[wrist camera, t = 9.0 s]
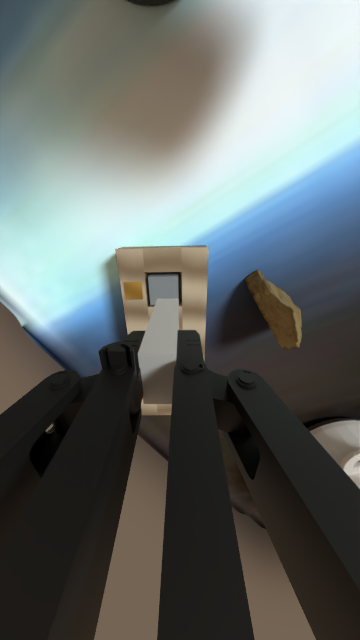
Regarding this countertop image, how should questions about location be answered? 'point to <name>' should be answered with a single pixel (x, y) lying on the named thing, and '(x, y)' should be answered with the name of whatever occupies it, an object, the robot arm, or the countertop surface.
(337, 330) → the countertop surface
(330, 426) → the pot
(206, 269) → the button panel
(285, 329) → the rock
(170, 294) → the button
